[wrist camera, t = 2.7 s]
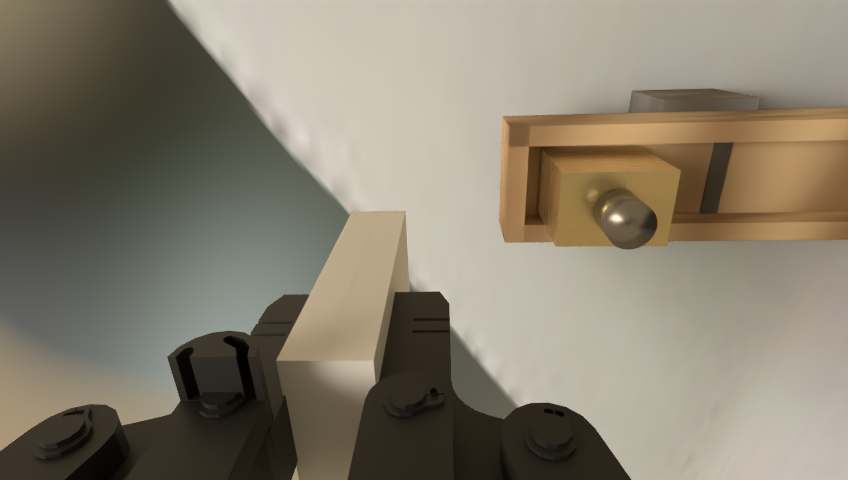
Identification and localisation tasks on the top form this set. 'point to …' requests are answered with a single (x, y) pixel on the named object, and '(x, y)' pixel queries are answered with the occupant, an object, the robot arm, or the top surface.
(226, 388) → the robot arm
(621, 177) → the rider
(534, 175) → the beam
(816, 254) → the top surface
